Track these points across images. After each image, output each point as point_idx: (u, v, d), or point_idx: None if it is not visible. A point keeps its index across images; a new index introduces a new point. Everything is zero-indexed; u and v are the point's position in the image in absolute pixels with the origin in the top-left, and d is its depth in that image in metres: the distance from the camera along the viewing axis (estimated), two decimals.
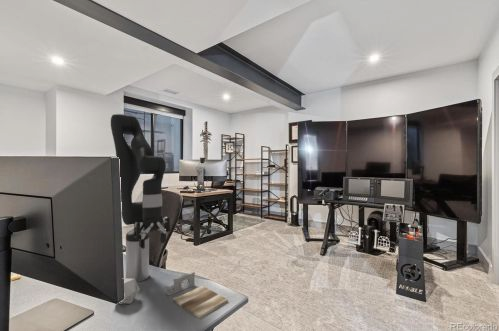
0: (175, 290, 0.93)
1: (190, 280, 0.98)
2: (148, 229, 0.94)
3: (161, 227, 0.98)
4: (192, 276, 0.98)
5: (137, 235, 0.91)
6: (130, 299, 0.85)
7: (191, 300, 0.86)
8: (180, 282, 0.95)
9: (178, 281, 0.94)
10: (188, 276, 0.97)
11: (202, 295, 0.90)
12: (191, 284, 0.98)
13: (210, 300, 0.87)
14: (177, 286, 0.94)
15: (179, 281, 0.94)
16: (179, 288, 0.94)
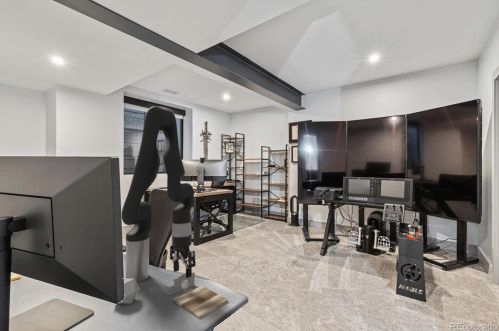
0: (175, 290, 0.93)
1: (190, 280, 0.98)
2: None
3: None
4: (192, 276, 0.98)
5: None
6: (130, 299, 0.85)
7: (191, 300, 0.86)
8: (180, 282, 0.95)
9: (178, 281, 0.94)
10: None
11: (202, 295, 0.90)
12: (191, 284, 0.98)
13: (210, 300, 0.87)
14: (177, 286, 0.94)
15: (179, 281, 0.94)
16: (179, 288, 0.94)
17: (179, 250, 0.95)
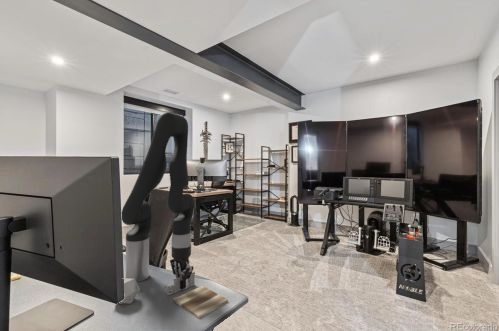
0: (175, 290, 0.93)
1: (190, 280, 0.98)
2: None
3: None
4: (192, 276, 0.98)
5: None
6: (130, 299, 0.85)
7: (191, 300, 0.86)
8: None
9: (178, 281, 0.94)
10: None
11: (202, 295, 0.90)
12: (191, 284, 0.98)
13: (210, 300, 0.87)
14: (177, 286, 0.94)
15: (179, 280, 0.94)
16: (179, 288, 0.94)
17: (178, 261, 0.95)
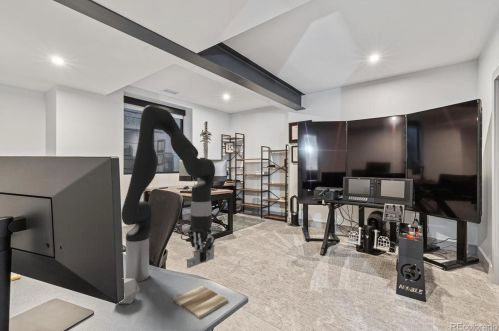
0: (195, 263, 0.85)
1: (210, 253, 0.90)
2: None
3: None
4: (212, 248, 0.91)
5: None
6: (130, 299, 0.85)
7: (191, 300, 0.86)
8: None
9: (198, 253, 0.86)
10: None
11: (202, 295, 0.90)
12: (211, 257, 0.90)
13: (210, 300, 0.87)
14: (197, 258, 0.85)
15: None
16: (199, 261, 0.86)
17: (198, 231, 0.87)
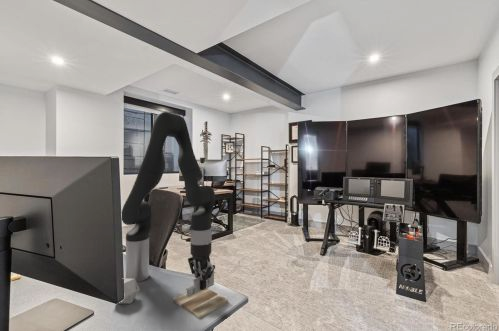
0: (195, 291, 0.85)
1: (210, 279, 0.90)
2: None
3: None
4: (212, 275, 0.91)
5: None
6: (130, 299, 0.85)
7: (191, 300, 0.86)
8: None
9: (198, 281, 0.86)
10: None
11: (202, 295, 0.90)
12: (211, 284, 0.90)
13: (210, 300, 0.87)
14: (197, 286, 0.85)
15: (199, 281, 0.86)
16: (199, 289, 0.86)
17: (198, 259, 0.87)
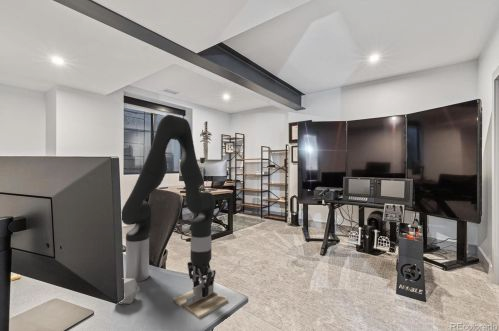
0: (195, 300, 0.85)
1: (209, 288, 0.90)
2: None
3: None
4: None
5: None
6: (130, 299, 0.85)
7: None
8: (200, 291, 0.86)
9: (198, 290, 0.86)
10: None
11: None
12: (210, 292, 0.90)
13: (210, 300, 0.87)
14: (197, 295, 0.86)
15: (199, 289, 0.86)
16: (199, 297, 0.86)
17: (198, 265, 0.87)
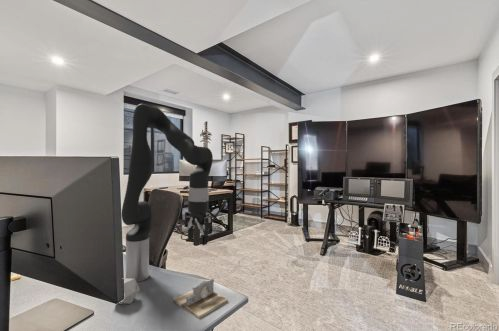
0: (195, 300, 0.85)
1: (209, 288, 0.90)
2: None
3: None
4: (211, 283, 0.91)
5: None
6: (130, 299, 0.85)
7: None
8: (200, 291, 0.87)
9: (198, 290, 0.86)
10: (207, 283, 0.89)
11: (202, 295, 0.90)
12: (210, 292, 0.90)
13: (210, 300, 0.87)
14: (197, 295, 0.86)
15: (199, 289, 0.86)
16: (199, 297, 0.86)
17: (195, 216, 0.90)
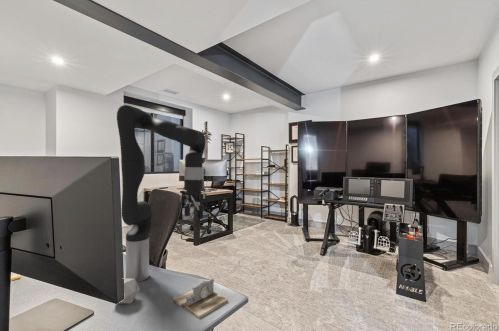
0: (195, 300, 0.85)
1: (209, 288, 0.90)
2: None
3: None
4: (211, 283, 0.91)
5: None
6: (130, 299, 0.85)
7: None
8: (200, 291, 0.87)
9: (198, 290, 0.86)
10: (207, 283, 0.89)
11: (202, 295, 0.90)
12: (210, 292, 0.90)
13: (210, 300, 0.87)
14: (197, 295, 0.86)
15: (199, 289, 0.86)
16: (199, 297, 0.86)
17: (191, 194, 0.98)
